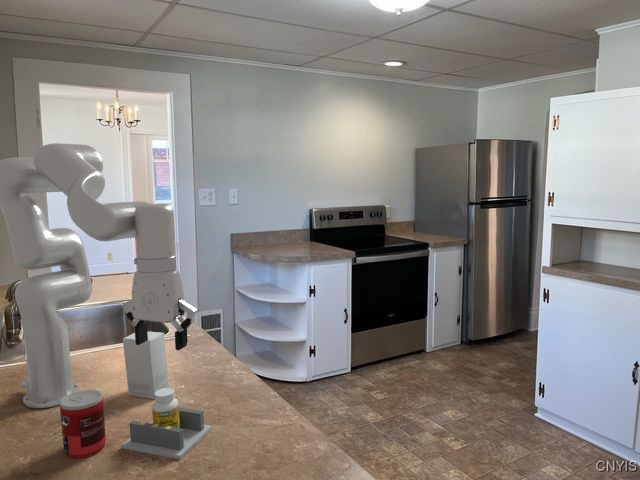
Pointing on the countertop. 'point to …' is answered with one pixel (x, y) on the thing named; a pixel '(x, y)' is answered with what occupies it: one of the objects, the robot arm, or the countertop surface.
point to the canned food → (83, 423)
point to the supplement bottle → (166, 408)
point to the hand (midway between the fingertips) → (161, 345)
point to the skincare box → (146, 365)
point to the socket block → (168, 435)
